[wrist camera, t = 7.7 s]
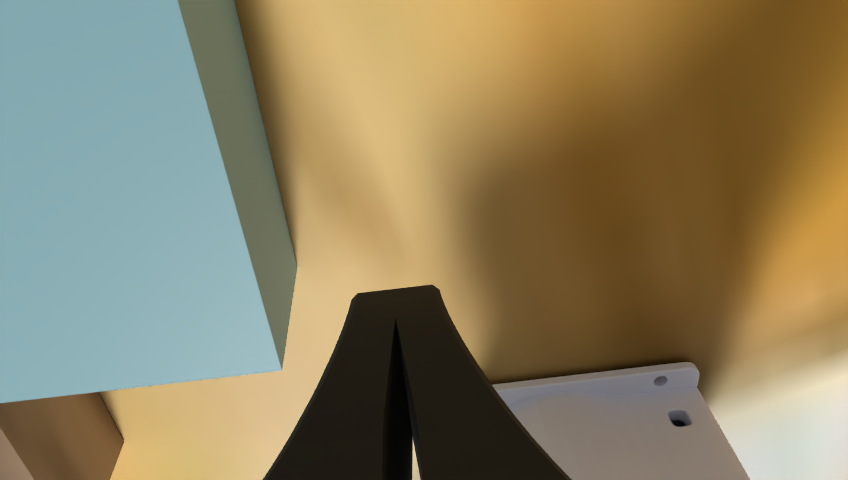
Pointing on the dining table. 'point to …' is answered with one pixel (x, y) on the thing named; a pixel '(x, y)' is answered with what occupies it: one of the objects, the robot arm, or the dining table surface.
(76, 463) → the board
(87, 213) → the block
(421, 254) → the dining table surface
